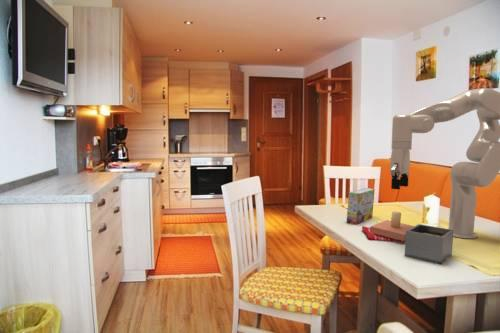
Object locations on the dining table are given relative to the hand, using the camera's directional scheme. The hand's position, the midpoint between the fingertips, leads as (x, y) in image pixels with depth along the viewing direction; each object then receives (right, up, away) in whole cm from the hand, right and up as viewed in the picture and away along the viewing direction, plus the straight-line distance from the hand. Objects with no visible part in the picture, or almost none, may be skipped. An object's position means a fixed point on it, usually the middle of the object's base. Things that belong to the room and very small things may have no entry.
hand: (399, 187), depth 157 cm
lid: (-1, -19, +2) cm, 19 cm away
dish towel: (-1, -22, +4) cm, 22 cm away
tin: (+2, -23, -20) cm, 31 cm away
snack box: (-7, -18, +32) cm, 37 cm away
